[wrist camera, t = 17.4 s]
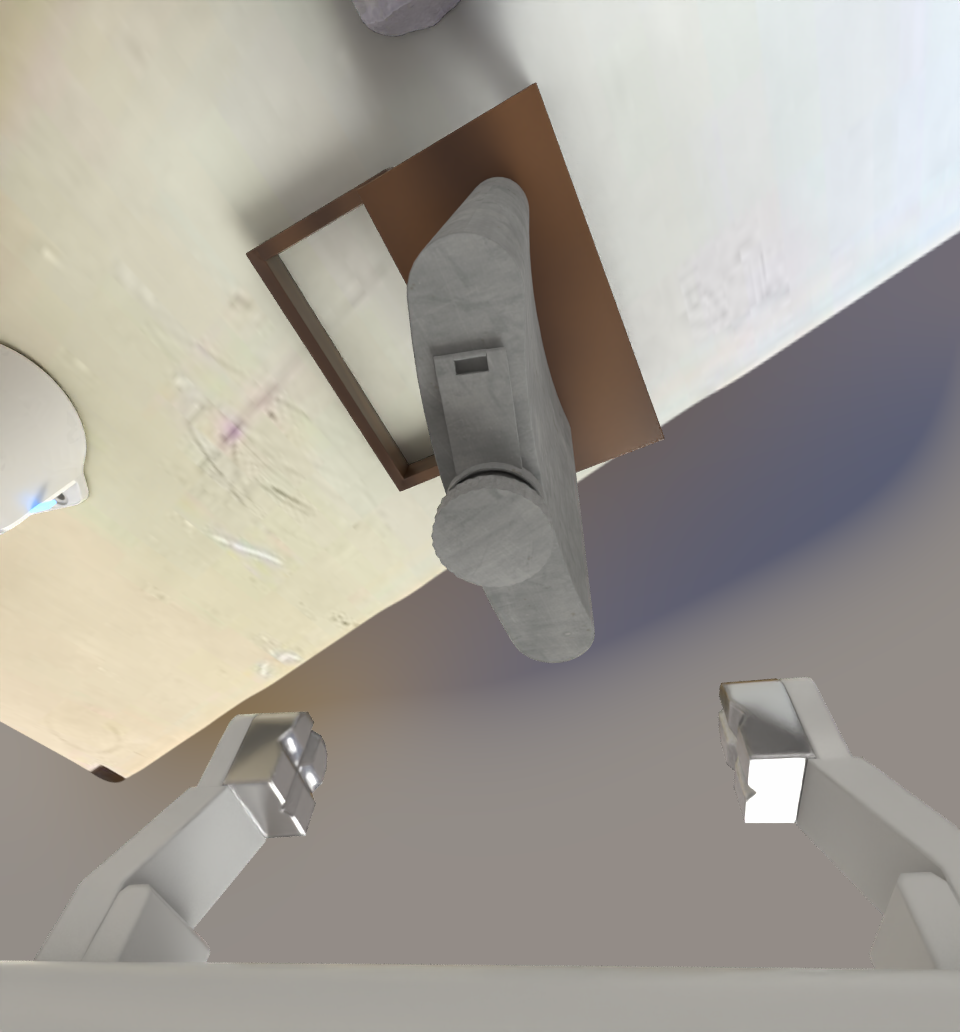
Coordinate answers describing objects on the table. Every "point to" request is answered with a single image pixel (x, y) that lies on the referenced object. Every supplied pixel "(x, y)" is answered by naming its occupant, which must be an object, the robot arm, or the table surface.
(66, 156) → the table surface
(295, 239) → the shelf stand
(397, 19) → the stone block
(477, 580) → the hip flask
